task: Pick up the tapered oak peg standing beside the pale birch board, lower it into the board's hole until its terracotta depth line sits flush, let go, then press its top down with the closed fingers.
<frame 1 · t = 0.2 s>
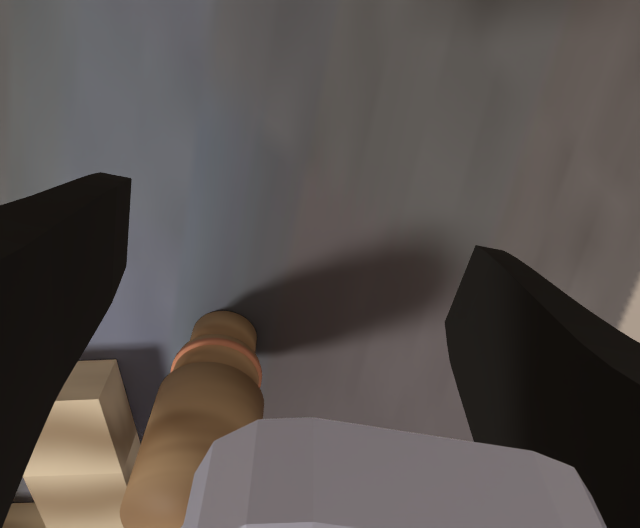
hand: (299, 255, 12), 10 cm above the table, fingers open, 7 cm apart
oak peg: (224, 336, 26), on the table
birch board: (10, 471, 30), on the table
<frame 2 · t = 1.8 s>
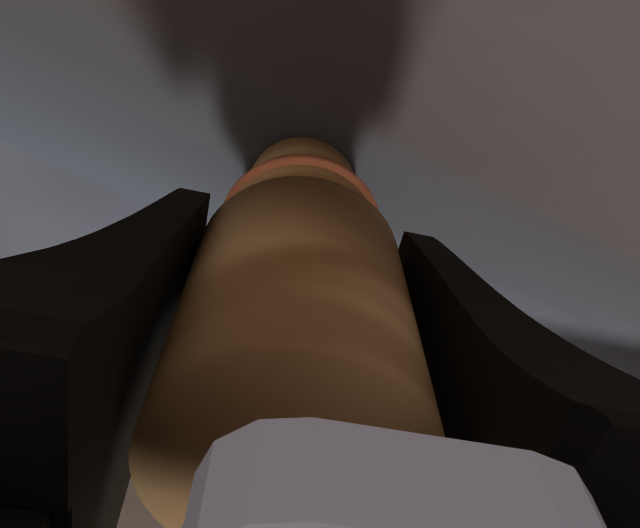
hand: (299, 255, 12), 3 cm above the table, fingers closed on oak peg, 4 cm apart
oak peg: (302, 189, 15), on the table, touching gripper
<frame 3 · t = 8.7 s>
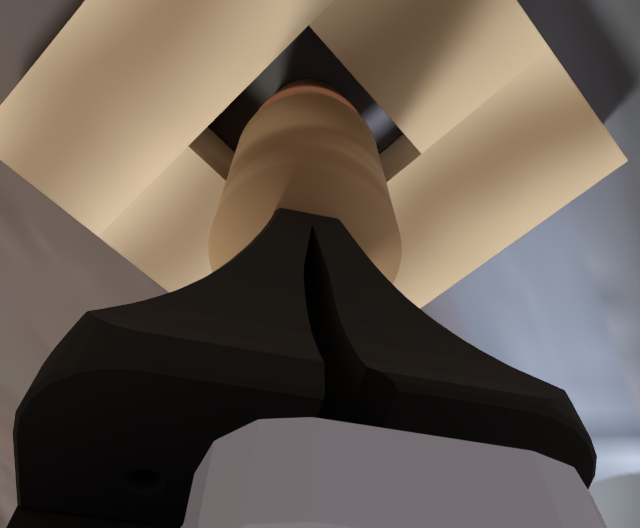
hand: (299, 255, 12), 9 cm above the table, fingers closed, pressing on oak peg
oak peg: (308, 120, 20), resting in birch board, touching gripper
birch board: (306, 124, 20), on the table
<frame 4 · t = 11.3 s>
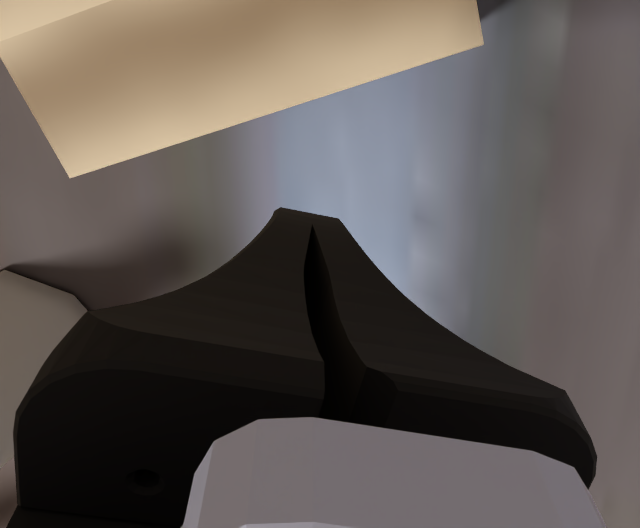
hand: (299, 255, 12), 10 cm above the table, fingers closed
flask: (33, 337, 27), on the table
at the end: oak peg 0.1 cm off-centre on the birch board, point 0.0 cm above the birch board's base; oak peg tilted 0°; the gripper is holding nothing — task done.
